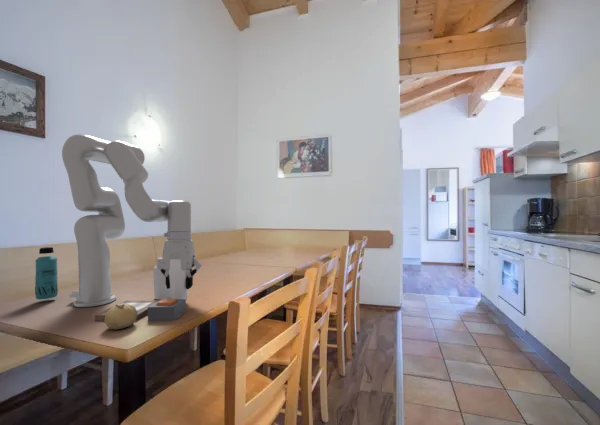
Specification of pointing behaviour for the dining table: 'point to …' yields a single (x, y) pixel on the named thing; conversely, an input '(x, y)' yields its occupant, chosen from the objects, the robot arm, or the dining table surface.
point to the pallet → (139, 305)
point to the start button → (167, 302)
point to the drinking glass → (177, 280)
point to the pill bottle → (160, 284)
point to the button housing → (166, 311)
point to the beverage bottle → (46, 275)
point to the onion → (120, 316)
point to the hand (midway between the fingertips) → (179, 287)
